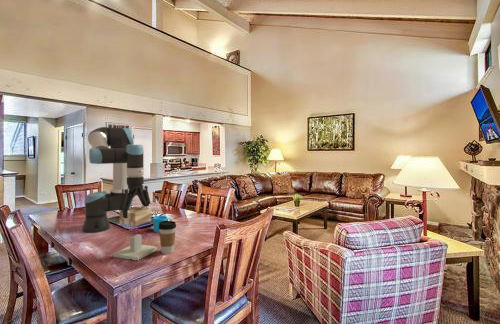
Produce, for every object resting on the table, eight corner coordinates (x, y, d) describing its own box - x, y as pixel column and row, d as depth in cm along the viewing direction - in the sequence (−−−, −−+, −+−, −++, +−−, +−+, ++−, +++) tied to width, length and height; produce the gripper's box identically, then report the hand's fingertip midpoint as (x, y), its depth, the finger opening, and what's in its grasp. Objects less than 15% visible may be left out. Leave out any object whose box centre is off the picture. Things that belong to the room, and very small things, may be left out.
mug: (156, 233, 157) (156, 220, 157) (151, 230, 163) (151, 217, 163) (175, 229, 165) (175, 216, 165) (169, 226, 171) (169, 214, 171)
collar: (151, 220, 129) (151, 208, 129) (135, 226, 120) (135, 213, 119) (135, 218, 133) (135, 206, 132) (119, 223, 123) (119, 211, 123)
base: (113, 256, 122) (113, 239, 122) (134, 246, 136) (134, 230, 135) (137, 260, 118) (137, 242, 118) (157, 249, 132) (157, 233, 131)
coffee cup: (161, 248, 133) (160, 219, 132) (177, 248, 134) (177, 219, 133) (156, 255, 125) (156, 224, 124) (174, 254, 125) (174, 224, 125)
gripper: (121, 179, 113) (122, 229, 114) (157, 174, 134) (158, 216, 135) (109, 178, 116) (110, 227, 117) (146, 174, 137) (146, 215, 138)
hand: (135, 221), depth 126 cm, fingers closed on collar, 10 cm apart
